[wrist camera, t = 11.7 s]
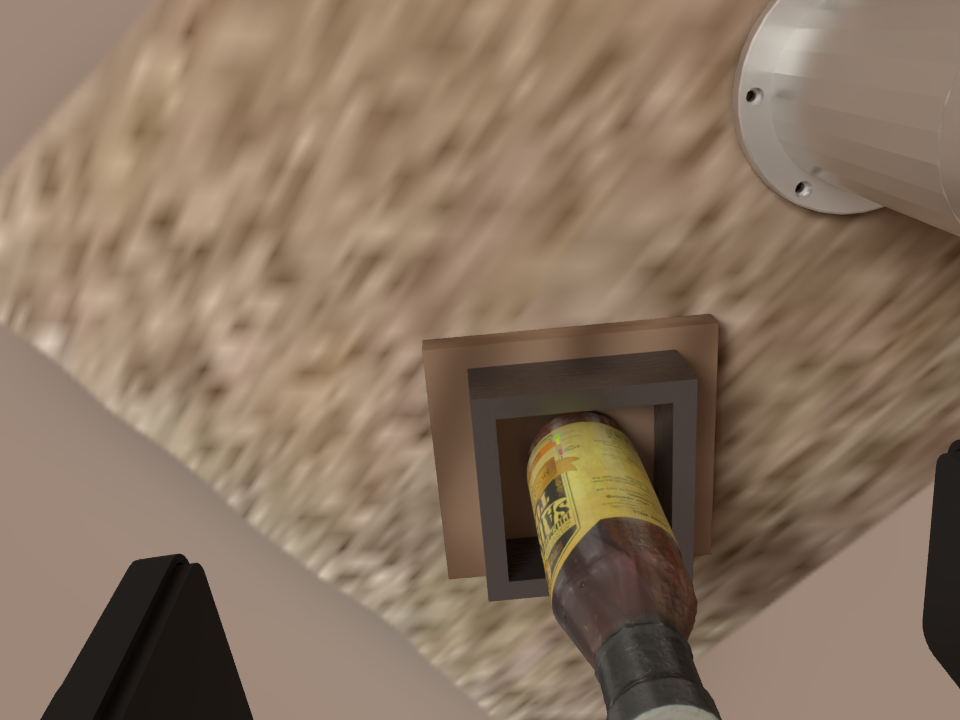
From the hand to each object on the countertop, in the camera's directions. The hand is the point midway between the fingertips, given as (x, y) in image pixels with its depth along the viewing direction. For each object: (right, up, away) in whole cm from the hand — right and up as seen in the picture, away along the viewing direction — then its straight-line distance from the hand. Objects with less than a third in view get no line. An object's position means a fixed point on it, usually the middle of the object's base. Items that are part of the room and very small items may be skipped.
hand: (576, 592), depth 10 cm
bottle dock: (+4, -2, +38) cm, 38 cm away
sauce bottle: (+4, -2, +36) cm, 37 cm away
